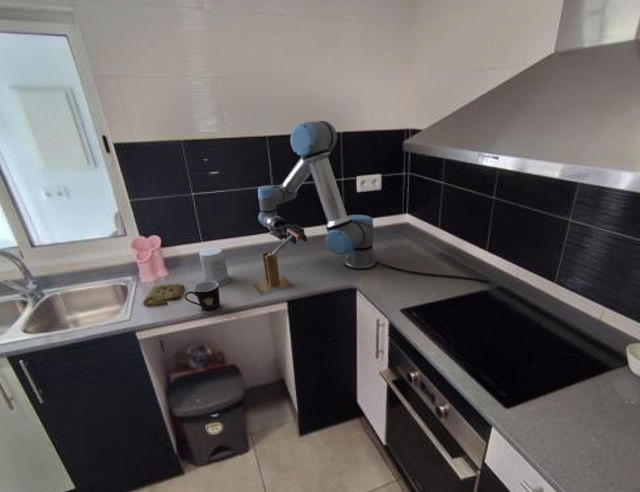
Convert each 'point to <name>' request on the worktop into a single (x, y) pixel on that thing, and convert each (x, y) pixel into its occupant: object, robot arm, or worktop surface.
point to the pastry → (164, 294)
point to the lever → (287, 240)
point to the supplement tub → (214, 265)
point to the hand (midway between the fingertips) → (300, 239)
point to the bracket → (271, 274)
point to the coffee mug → (207, 295)
